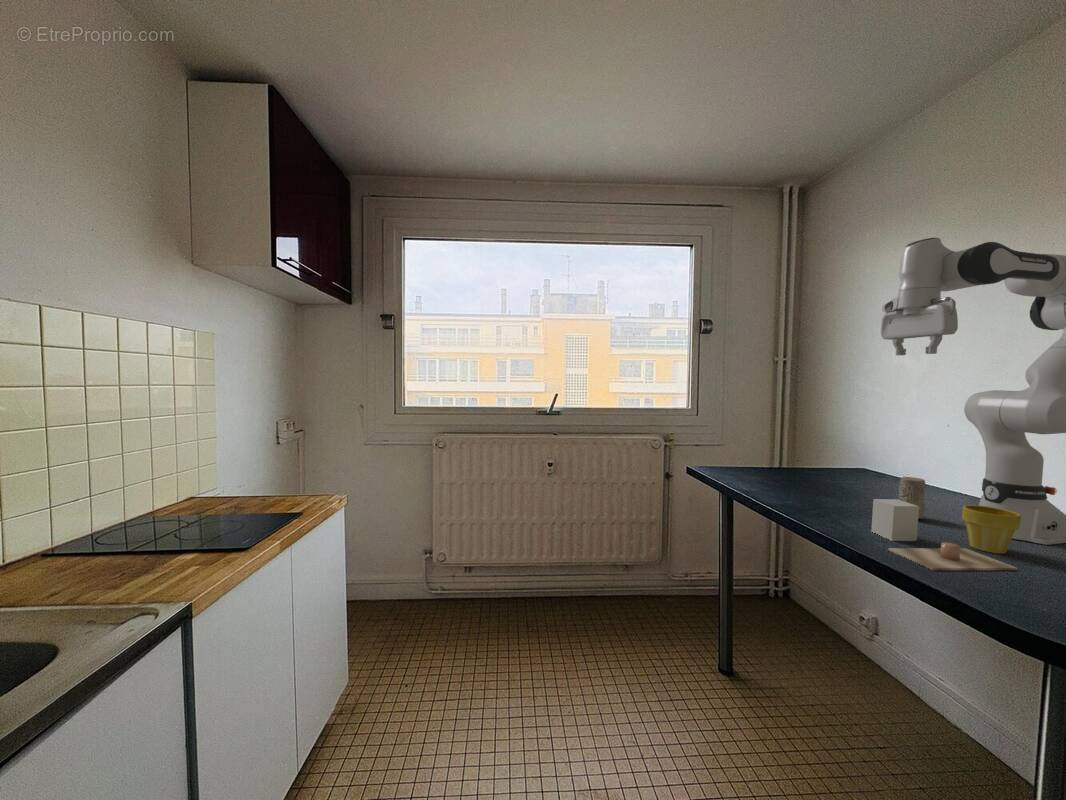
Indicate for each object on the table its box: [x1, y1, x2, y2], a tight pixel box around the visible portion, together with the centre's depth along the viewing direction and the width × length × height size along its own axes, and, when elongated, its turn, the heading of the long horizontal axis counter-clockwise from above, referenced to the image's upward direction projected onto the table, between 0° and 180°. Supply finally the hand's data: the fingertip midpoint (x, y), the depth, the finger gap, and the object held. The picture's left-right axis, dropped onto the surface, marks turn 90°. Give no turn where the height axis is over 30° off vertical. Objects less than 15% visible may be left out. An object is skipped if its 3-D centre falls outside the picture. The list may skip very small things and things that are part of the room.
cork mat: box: [887, 547, 1019, 571], centre depth 112 cm, size 20×12×1 cm, turn 94°
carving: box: [898, 476, 926, 520], centre depth 146 cm, size 6×8×12 cm
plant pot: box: [961, 504, 1021, 555], centre depth 120 cm, size 10×10×10 cm
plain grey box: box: [870, 498, 919, 542], centre depth 128 cm, size 7×7×9 cm
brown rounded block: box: [940, 541, 962, 560], centre depth 112 cm, size 3×3×3 cm
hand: (915, 354), depth 129 cm, fingers open, 8 cm apart
